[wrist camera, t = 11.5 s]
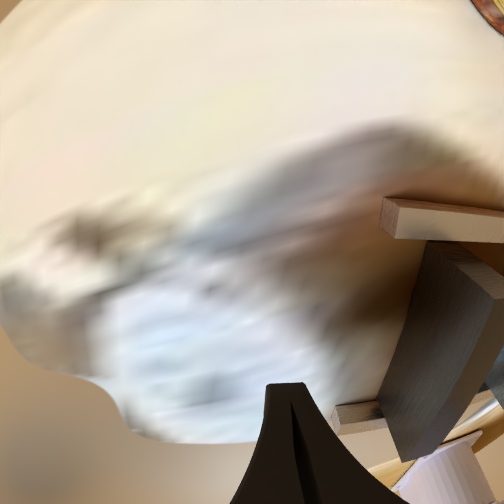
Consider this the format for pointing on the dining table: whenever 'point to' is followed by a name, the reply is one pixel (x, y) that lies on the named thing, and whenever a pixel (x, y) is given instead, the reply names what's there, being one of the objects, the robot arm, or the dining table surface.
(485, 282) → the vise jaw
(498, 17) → the sauce bottle
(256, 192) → the dining table surface
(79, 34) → the dining table surface
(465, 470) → the robot arm
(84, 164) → the dining table surface
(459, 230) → the vise base
